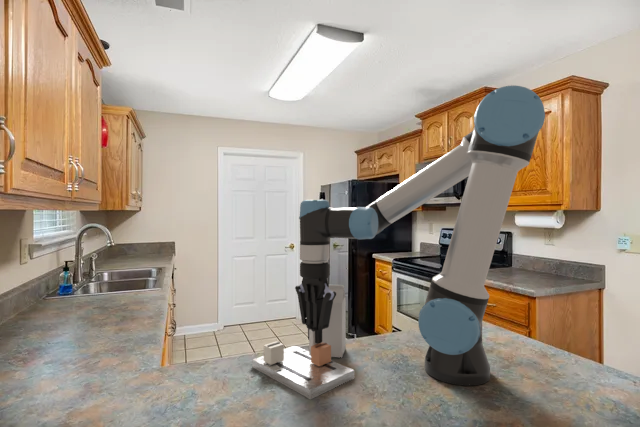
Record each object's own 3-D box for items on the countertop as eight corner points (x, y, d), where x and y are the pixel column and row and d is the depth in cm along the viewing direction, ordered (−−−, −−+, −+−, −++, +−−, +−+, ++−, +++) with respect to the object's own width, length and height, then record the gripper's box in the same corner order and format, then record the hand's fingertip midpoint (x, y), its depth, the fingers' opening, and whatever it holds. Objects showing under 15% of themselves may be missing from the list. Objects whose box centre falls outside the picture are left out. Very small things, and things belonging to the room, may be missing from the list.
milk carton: (342, 358, 98) (342, 288, 98) (316, 356, 99) (316, 286, 99) (345, 348, 105) (345, 282, 105) (321, 346, 106) (321, 282, 106)
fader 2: (331, 361, 90) (331, 344, 90) (319, 366, 87) (319, 348, 87) (322, 358, 92) (322, 341, 92) (311, 362, 90) (310, 345, 90)
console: (354, 378, 86) (354, 369, 86) (310, 399, 76) (310, 389, 76) (295, 352, 102) (294, 345, 102) (252, 367, 92) (252, 359, 92)
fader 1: (283, 360, 91) (283, 343, 91) (270, 364, 88) (270, 347, 88) (276, 356, 93) (276, 340, 93) (263, 361, 90) (263, 343, 90)
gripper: (343, 262, 89) (344, 357, 89) (308, 257, 99) (309, 344, 99) (321, 265, 84) (322, 366, 84) (286, 260, 94) (287, 351, 94)
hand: (315, 354), depth 92 cm, fingers closed
